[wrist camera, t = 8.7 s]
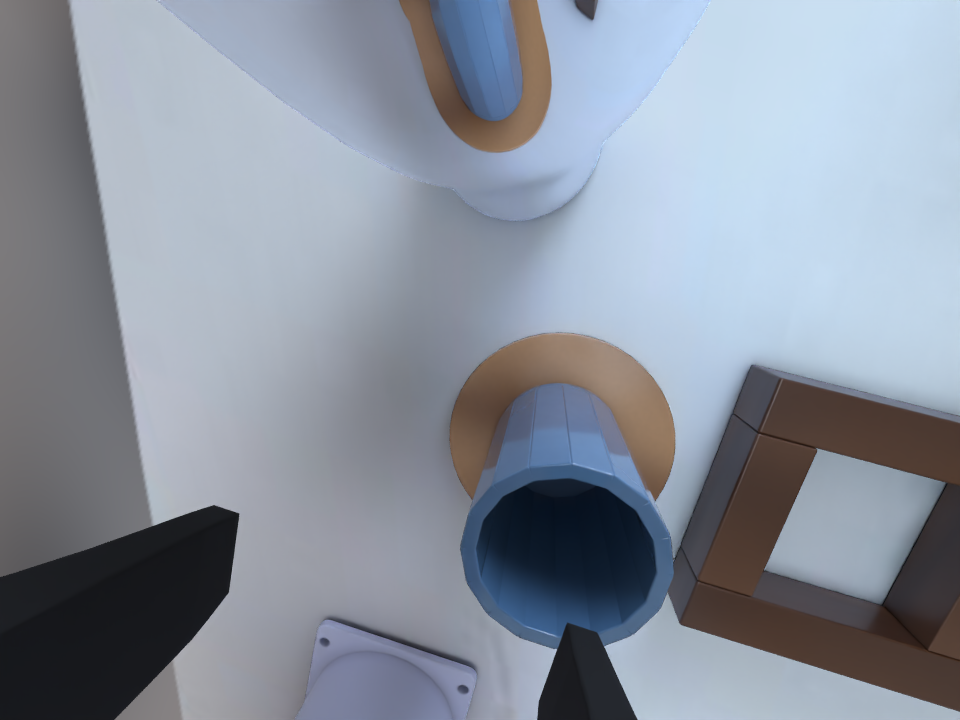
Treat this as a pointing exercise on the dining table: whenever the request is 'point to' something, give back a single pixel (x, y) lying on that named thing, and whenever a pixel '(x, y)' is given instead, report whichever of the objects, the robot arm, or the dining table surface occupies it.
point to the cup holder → (763, 512)
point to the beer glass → (459, 81)
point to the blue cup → (565, 523)
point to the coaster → (570, 364)
